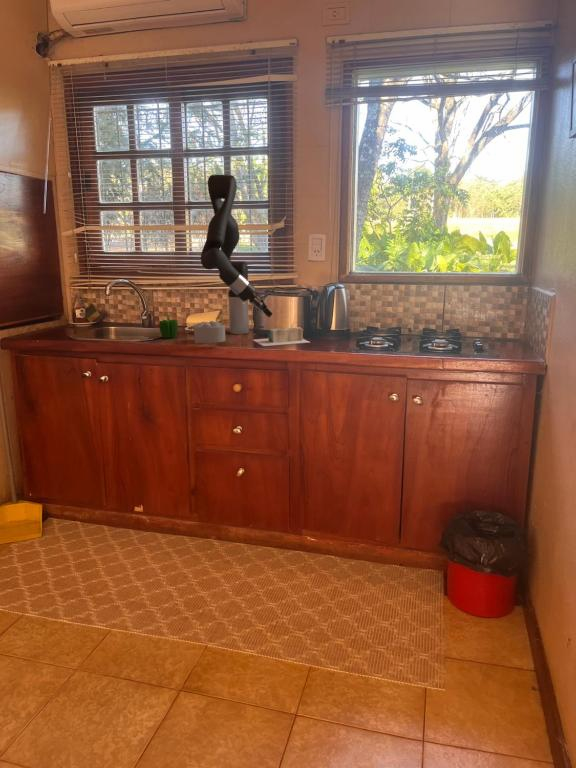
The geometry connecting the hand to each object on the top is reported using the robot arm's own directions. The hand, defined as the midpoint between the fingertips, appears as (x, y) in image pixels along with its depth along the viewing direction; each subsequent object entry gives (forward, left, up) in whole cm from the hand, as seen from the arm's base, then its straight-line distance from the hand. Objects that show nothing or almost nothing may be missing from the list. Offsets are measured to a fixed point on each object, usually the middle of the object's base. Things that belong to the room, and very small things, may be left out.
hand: (270, 315), depth 231 cm
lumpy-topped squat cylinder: (-14, -23, -12) cm, 29 cm away
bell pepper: (-32, -38, -12) cm, 51 cm away
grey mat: (0, +5, -12) cm, 13 cm away
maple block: (0, 0, -9) cm, 9 cm away
